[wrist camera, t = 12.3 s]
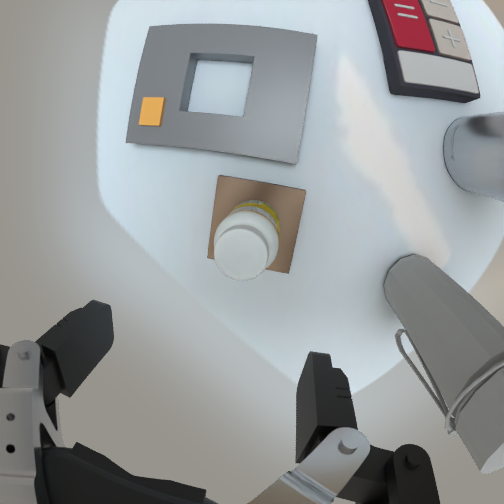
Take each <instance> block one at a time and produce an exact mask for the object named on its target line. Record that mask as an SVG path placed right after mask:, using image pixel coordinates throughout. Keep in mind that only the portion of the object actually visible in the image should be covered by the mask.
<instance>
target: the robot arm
mask: <svg viewBox="0 0 504 504" xmlns="http://www.w3.org/2000/svg"><path fill="white" fill-rule="evenodd" d="M444 158H445V162H446V166H447V169H448V171H449V174H450V175H451V177H452V178H453V180H454V181H455V182H456V183H457V185H458V186H460V187H461V188H463V189H464V190H467V191H469V192H473V193H477V194H480V195H484V196H487V197H491V198H494V199H497V200H501V201H504V112H497V113H489V114H480V115H473V116H467V117H462V118H459V119H457V120H455V121H454V122H453V123H452V124H451V125H450V127H449V128H448V130H447V133H446V135H445V140H444ZM113 340H114V332H113V322H112V311H111V307H110V305H108V304H105V303H102V302H99V301H96V300H92V301H90V302H89V303H88V304H87V305H86V306H84V307H83V308H79V309H76V310H74V311H72V312H70V313H69V314H67V315H66V316H65V317H64V318H63V320H60V321H59V322H58V323H57V325H54V326H53V327H52V328H51V329H50V330H48V331H47V332H46V333H45V334H44V335H42V336H41V337H40V338H39V339H38V340H37V341H36V342H33V341H30V340H23V341H19V342H16V343H15V344H13V345H12V346H11V347H8V346H4V345H0V504H218V503H216V502H214V501H212V500H210V499H208V498H206V497H205V496H206V490H205V489H201V488H196V487H192V486H188V485H185V484H181V483H178V482H174V481H171V480H161V479H153V478H145V477H138V476H133V475H131V474H130V473H128V472H127V471H125V470H124V469H122V468H121V467H119V466H118V465H117V464H115V463H114V462H112V461H111V460H110V459H108V458H107V457H106V456H104V455H102V454H100V453H98V452H96V451H93V450H92V449H90V448H88V447H86V446H84V445H82V444H80V443H78V442H76V444H75V445H74V447H73V448H66V447H65V445H64V443H63V439H62V434H61V425H60V416H59V403H58V399H57V396H58V394H59V393H62V394H64V395H66V396H68V397H71V396H72V395H73V394H74V392H75V391H76V390H77V389H78V387H79V386H80V385H81V383H82V382H83V381H84V380H85V379H86V377H87V376H88V375H89V374H90V373H91V371H92V370H93V369H94V368H95V367H96V365H97V364H98V363H99V362H100V360H101V359H102V358H103V357H104V356H105V355H106V353H107V352H108V351H109V350H110V348H111V346H112V344H113ZM349 389H350V387H349V382H348V378H347V377H346V375H345V374H344V373H343V371H342V370H341V369H340V368H332V363H331V357H330V354H325V353H318V352H311V351H310V352H309V354H308V357H307V360H306V362H305V365H304V368H303V371H302V374H301V377H300V379H299V382H298V387H297V395H296V463H300V464H299V465H298V466H297V467H296V468H295V469H294V470H292V471H291V472H290V471H288V472H287V473H285V474H284V475H282V476H281V477H280V478H279V479H278V480H276V481H275V482H274V483H273V484H272V485H270V486H269V487H268V488H267V489H266V490H264V491H263V492H262V493H261V494H259V495H258V496H257V497H256V498H255V499H253V500H252V501H250V502H249V503H248V504H331V503H332V502H333V499H334V498H335V497H339V498H342V499H346V500H350V501H354V502H356V504H440V500H439V495H438V490H437V486H436V482H435V477H434V473H433V468H432V465H431V461H430V457H429V455H428V454H427V452H426V451H425V450H424V449H423V448H421V447H419V446H417V445H414V444H406V445H402V446H400V447H399V448H398V449H397V450H396V451H395V452H393V451H389V450H384V449H380V448H377V447H374V446H372V445H370V443H369V441H368V439H367V437H366V436H365V435H364V434H363V433H362V432H360V431H358V428H357V422H356V417H355V412H354V407H353V402H352V399H351V392H350V390H349Z"/></svg>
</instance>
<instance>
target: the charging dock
mask: <svg viewBox="0 0 504 504" xmlns="http://www.w3.org/2000/svg"><path fill="white" fill-rule="evenodd" d="M316 42H317V35H315V34H310V33H304V32H298V31H292V30H285V29H278V28H270V27H261V26H249V25H234V24H176V25H161V26H150V27H149V31H148V34H147V38H146V41H145V45H144V49H143V53H142V57H141V61H140V65H139V70H138V74H137V79H136V84H135V89H134V94H133V99H132V105H131V111H130V117H129V123H128V130H127V137H126V143H137V144H152V145H164V146H175V147H185V148H195V149H203V150H211V151H219V152H227V153H234V154H240V155H247V156H253V157H259V158H265V159H271V160H277V161H282V162H288V163H293V164H297V158H298V153H299V147H300V141H301V136H302V130H303V124H304V118H305V112H306V106H307V100H308V94H309V88H310V82H311V75H312V69H313V62H314V56H315V49H316ZM197 60H217V61H232V62H244V63H253V68H252V73H251V78H250V84H249V89H248V94H247V100H246V106H245V111H244V117H238V116H230V115H221V114H211V113H200V112H187V110H188V104H189V99H190V93H191V88H192V83H193V78H194V73H195V69H196V64H197Z"/></svg>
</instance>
